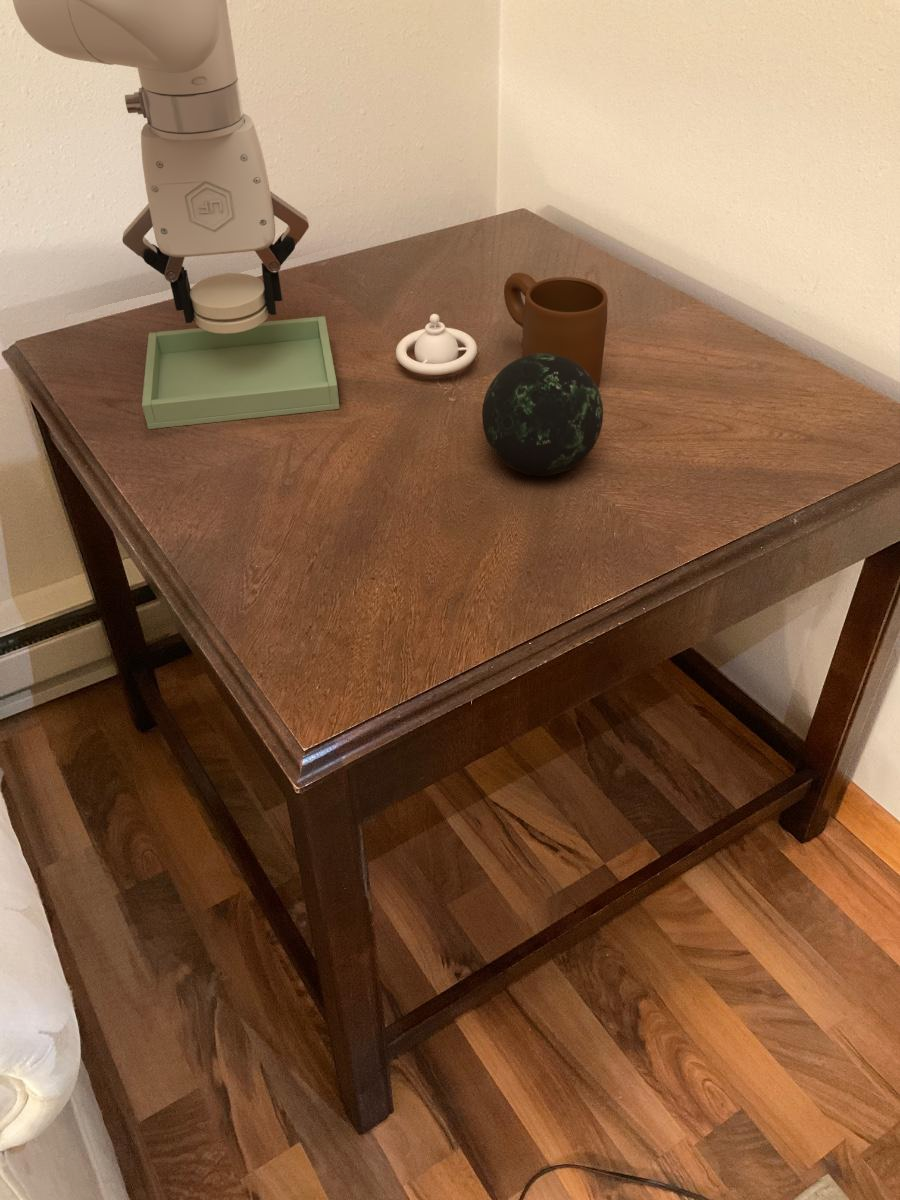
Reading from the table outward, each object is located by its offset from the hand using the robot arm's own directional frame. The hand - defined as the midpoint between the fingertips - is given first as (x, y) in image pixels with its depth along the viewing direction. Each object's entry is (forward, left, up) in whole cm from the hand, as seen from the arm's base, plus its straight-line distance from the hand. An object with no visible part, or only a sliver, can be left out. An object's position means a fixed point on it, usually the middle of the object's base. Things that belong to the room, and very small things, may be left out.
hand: (231, 310), depth 91 cm
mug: (+29, -5, -8) cm, 30 cm away
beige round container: (0, 0, -1) cm, 1 cm away
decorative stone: (+25, -19, -8) cm, 32 cm away
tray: (0, 0, -7) cm, 7 cm away
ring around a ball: (+19, -1, -8) cm, 20 cm away
